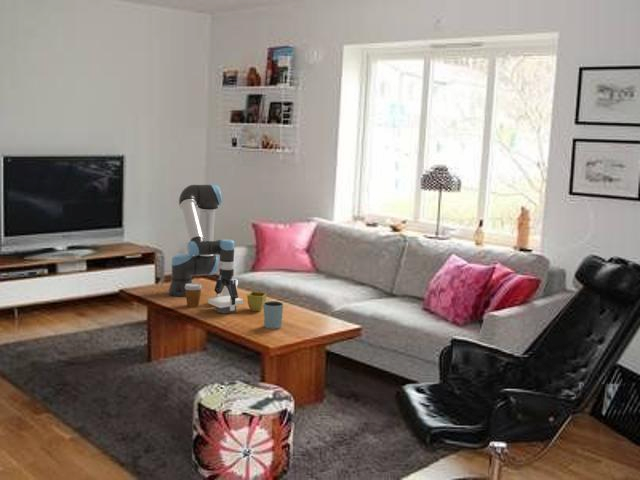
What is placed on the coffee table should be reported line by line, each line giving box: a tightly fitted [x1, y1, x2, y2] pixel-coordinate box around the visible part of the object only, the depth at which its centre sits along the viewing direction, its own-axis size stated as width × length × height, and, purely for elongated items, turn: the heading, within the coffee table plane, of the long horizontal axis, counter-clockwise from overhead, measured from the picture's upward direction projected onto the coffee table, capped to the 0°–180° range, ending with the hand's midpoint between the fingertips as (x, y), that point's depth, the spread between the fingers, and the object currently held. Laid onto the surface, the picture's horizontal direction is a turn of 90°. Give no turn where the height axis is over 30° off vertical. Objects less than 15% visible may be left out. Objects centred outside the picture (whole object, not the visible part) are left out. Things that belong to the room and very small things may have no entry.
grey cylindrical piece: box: [262, 300, 284, 330], centre depth 366 cm, size 10×10×12 cm
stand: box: [214, 305, 237, 314], centre depth 392 cm, size 8×8×4 cm
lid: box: [207, 295, 245, 308], centre depth 392 cm, size 12×15×2 cm
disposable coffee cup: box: [184, 282, 203, 308], centre depth 399 cm, size 10×10×12 cm
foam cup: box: [222, 278, 239, 297], centre depth 409 cm, size 10×9×13 cm
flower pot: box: [246, 291, 267, 312], centre depth 397 cm, size 9×9×9 cm
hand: (225, 307), depth 392 cm, fingers closed on lid, 12 cm apart
